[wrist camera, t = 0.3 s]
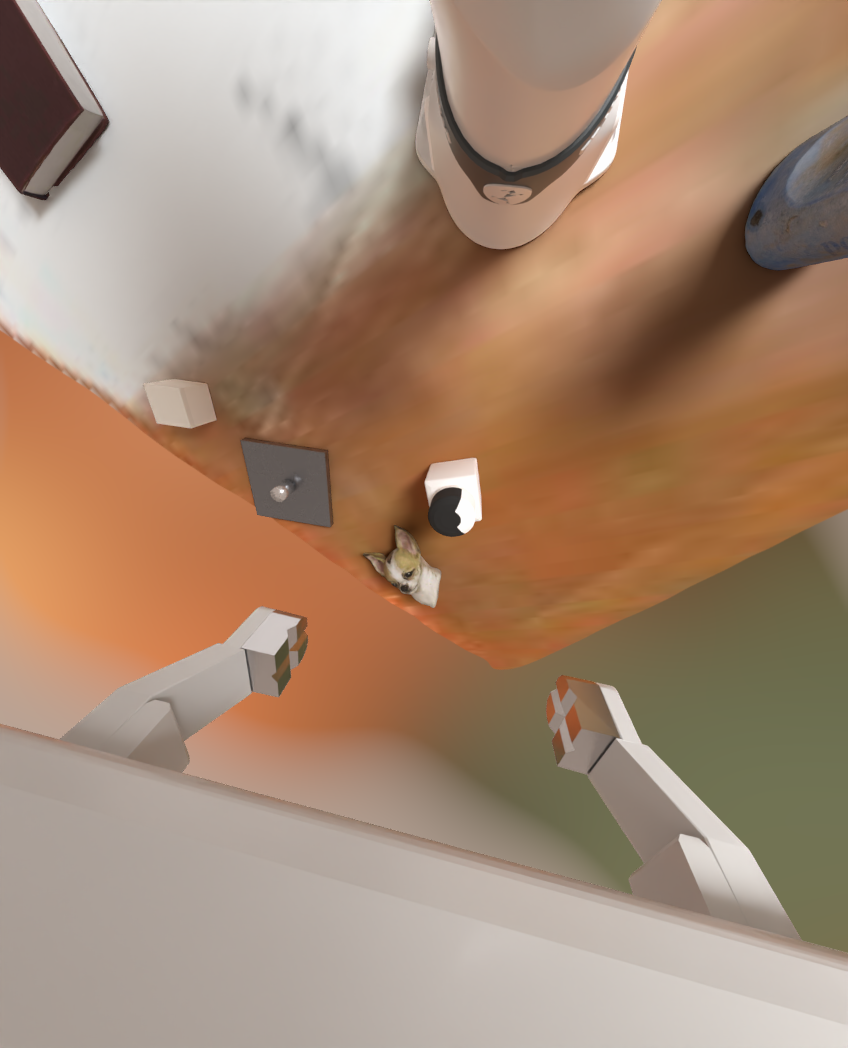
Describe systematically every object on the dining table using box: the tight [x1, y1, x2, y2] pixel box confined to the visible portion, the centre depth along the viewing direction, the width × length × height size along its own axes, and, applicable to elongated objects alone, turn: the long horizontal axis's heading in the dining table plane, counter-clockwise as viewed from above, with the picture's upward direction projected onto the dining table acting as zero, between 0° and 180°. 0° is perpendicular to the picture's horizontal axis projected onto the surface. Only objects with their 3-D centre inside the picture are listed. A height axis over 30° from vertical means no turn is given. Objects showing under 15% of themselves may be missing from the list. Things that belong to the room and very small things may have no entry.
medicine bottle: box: [424, 458, 482, 537], centre depth 43 cm, size 7×7×12 cm
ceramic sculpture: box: [363, 525, 441, 608], centre depth 55 cm, size 11×9×15 cm
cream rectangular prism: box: [143, 379, 217, 428], centre depth 45 cm, size 5×5×5 cm
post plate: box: [240, 438, 333, 527], centre depth 51 cm, size 14×14×5 cm
